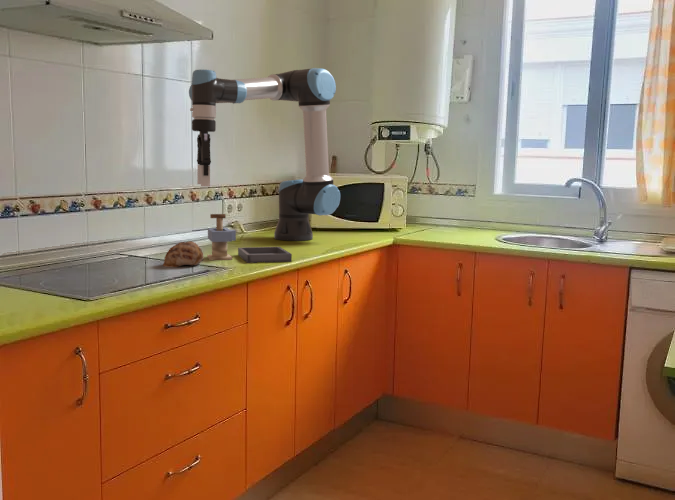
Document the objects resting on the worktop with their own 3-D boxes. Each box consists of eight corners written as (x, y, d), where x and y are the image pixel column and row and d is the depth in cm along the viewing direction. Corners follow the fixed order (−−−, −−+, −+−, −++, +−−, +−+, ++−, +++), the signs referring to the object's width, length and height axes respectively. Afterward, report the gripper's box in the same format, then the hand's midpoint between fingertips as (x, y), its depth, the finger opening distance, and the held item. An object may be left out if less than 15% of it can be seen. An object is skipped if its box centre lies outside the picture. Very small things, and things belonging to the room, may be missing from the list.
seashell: (184, 258, 225) (195, 232, 221) (201, 276, 221) (212, 250, 217) (157, 262, 217) (167, 235, 213) (173, 280, 213) (185, 254, 209)
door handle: (228, 256, 237) (228, 213, 235) (232, 259, 230) (232, 215, 228) (207, 257, 235) (207, 213, 233) (210, 260, 228) (210, 215, 226)
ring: (207, 238, 235) (207, 228, 235) (231, 237, 238) (231, 228, 237) (211, 241, 226) (211, 231, 226) (236, 241, 229) (236, 231, 228)
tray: (279, 254, 244) (279, 246, 244) (291, 261, 228) (291, 253, 228) (238, 255, 240) (238, 247, 240) (247, 263, 224) (247, 255, 224)
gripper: (189, 120, 244) (189, 183, 247) (195, 116, 220) (194, 186, 223) (211, 121, 246) (211, 183, 249) (219, 117, 222) (219, 187, 225)
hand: (203, 185), depth 236 cm, fingers open, 13 cm apart
